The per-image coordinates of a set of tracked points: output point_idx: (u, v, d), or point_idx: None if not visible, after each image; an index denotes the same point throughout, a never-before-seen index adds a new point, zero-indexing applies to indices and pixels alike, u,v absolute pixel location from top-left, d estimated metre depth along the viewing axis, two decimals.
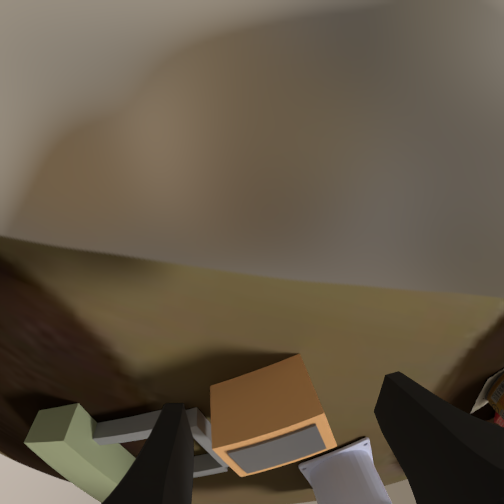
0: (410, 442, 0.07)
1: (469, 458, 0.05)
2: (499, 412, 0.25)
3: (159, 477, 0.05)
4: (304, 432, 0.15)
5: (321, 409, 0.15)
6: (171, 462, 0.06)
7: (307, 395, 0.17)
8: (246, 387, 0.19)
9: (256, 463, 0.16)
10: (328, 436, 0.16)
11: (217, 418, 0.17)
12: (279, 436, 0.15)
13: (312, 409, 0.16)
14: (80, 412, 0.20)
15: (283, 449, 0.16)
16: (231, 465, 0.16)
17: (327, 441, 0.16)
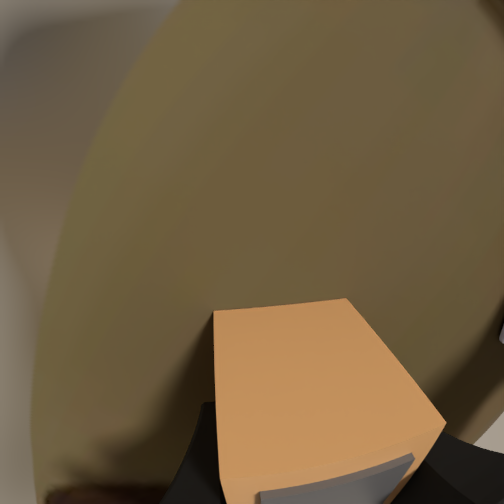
0: None
1: (432, 478, 0.04)
2: None
3: (212, 477, 0.05)
4: None
5: (219, 466, 0.04)
6: None
7: None
8: None
9: None
10: (372, 458, 0.04)
11: None
12: None
13: None
14: None
15: None
16: None
17: (393, 454, 0.04)
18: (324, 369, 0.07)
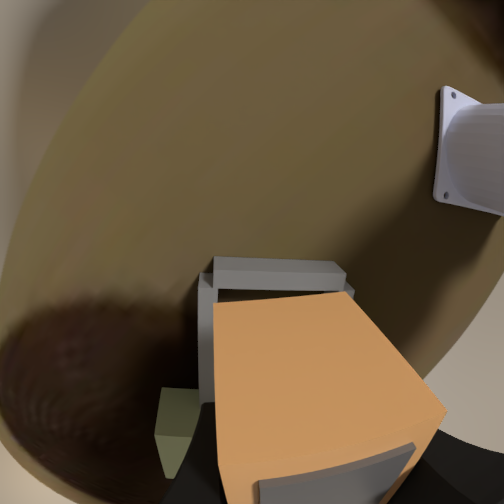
0: None
1: (432, 478, 0.04)
2: None
3: (211, 477, 0.05)
4: (269, 502, 0.04)
5: None
6: None
7: None
8: None
9: None
10: (373, 446, 0.04)
11: None
12: None
13: None
14: (168, 393, 0.19)
15: None
16: None
17: (394, 443, 0.04)
18: (324, 358, 0.07)
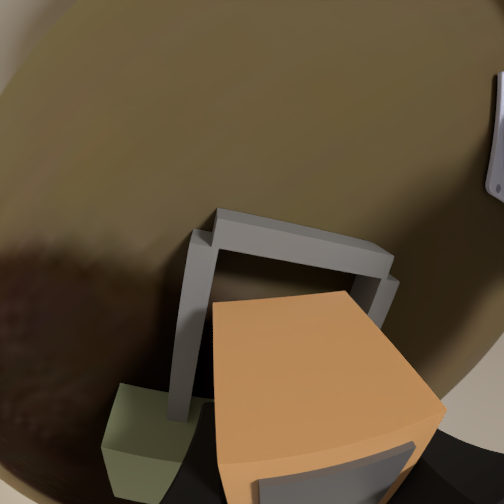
0: None
1: (432, 478, 0.04)
2: None
3: (212, 477, 0.05)
4: (269, 501, 0.04)
5: (217, 451, 0.04)
6: None
7: None
8: None
9: None
10: (372, 444, 0.04)
11: None
12: None
13: None
14: (128, 393, 0.13)
15: None
16: None
17: (394, 442, 0.04)
18: (323, 357, 0.07)
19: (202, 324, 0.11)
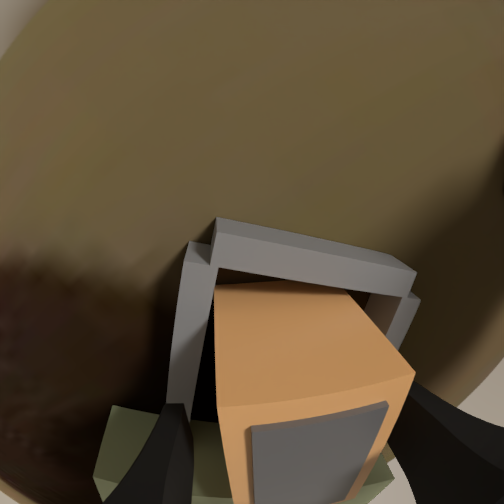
0: (410, 442, 0.07)
1: (468, 458, 0.05)
2: None
3: (159, 477, 0.05)
4: (260, 451, 0.06)
5: None
6: (171, 462, 0.06)
7: None
8: None
9: (319, 496, 0.07)
10: (349, 398, 0.06)
11: None
12: (253, 474, 0.06)
13: None
14: (121, 416, 0.12)
15: (302, 474, 0.06)
16: None
17: (368, 398, 0.06)
18: (308, 327, 0.08)
19: (200, 351, 0.09)
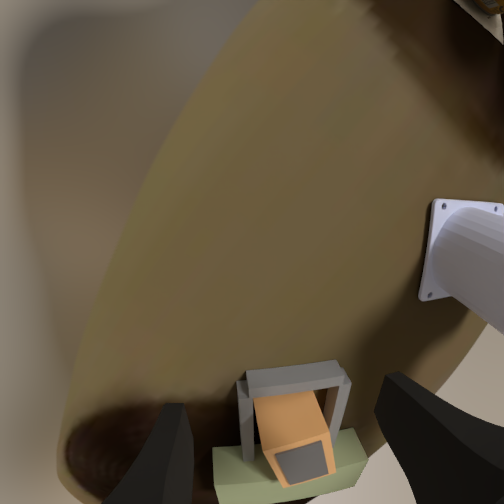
0: (410, 442, 0.07)
1: (469, 458, 0.05)
2: None
3: (159, 477, 0.05)
4: (280, 460, 0.17)
5: (262, 448, 0.17)
6: (171, 462, 0.06)
7: (261, 435, 0.18)
8: None
9: (314, 472, 0.18)
10: (304, 441, 0.17)
11: None
12: (281, 467, 0.17)
13: None
14: (218, 452, 0.23)
15: (300, 465, 0.17)
16: (312, 479, 0.19)
17: (313, 440, 0.17)
18: (292, 413, 0.19)
19: (252, 423, 0.21)
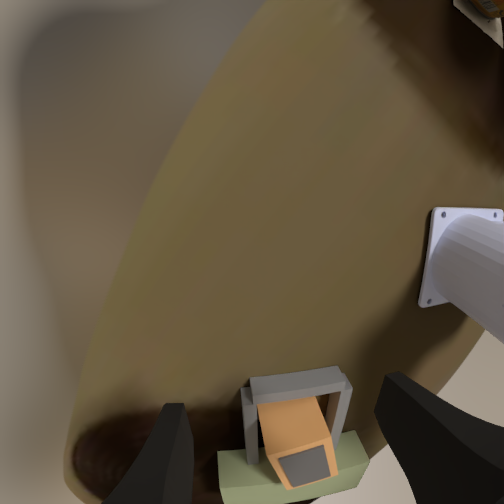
0: (410, 442, 0.07)
1: (469, 458, 0.05)
2: None
3: (159, 477, 0.05)
4: (283, 464, 0.17)
5: (266, 452, 0.17)
6: (171, 462, 0.06)
7: None
8: None
9: (316, 475, 0.18)
10: (307, 446, 0.17)
11: None
12: (284, 471, 0.18)
13: None
14: (223, 455, 0.24)
15: (302, 468, 0.18)
16: (315, 481, 0.19)
17: (315, 445, 0.17)
18: (295, 418, 0.19)
19: (256, 428, 0.21)
